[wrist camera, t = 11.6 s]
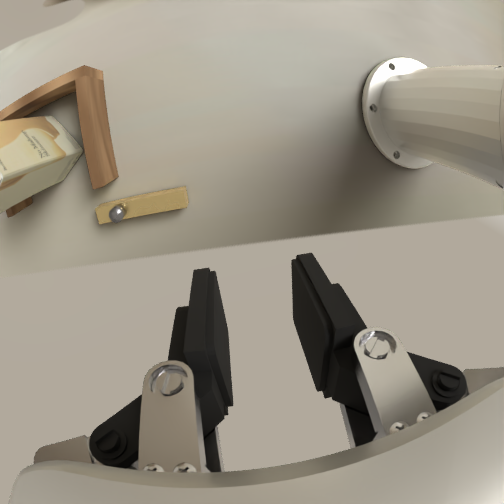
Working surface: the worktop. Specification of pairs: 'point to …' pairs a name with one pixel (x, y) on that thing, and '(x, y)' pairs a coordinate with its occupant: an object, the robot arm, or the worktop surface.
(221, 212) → the worktop surface
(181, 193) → the bar
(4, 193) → the skincare box
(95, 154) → the cradle
